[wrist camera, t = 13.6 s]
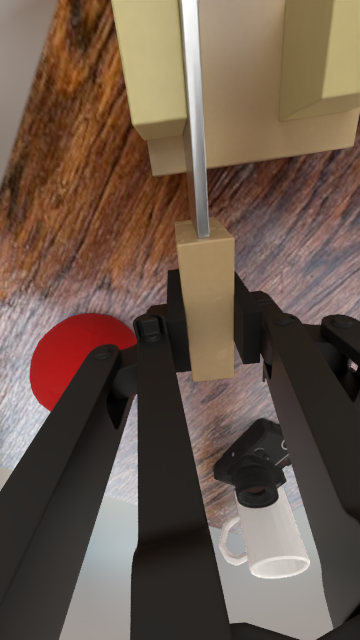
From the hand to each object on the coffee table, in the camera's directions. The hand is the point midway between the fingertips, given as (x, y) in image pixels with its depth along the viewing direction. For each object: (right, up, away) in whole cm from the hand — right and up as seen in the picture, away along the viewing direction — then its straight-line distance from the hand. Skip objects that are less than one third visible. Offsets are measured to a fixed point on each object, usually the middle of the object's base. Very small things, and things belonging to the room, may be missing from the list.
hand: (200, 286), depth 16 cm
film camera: (+9, -21, +20) cm, 30 cm away
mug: (+10, -31, +26) cm, 42 cm away
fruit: (-9, -4, +9) cm, 14 cm away
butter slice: (-2, +9, -5) cm, 10 cm away
